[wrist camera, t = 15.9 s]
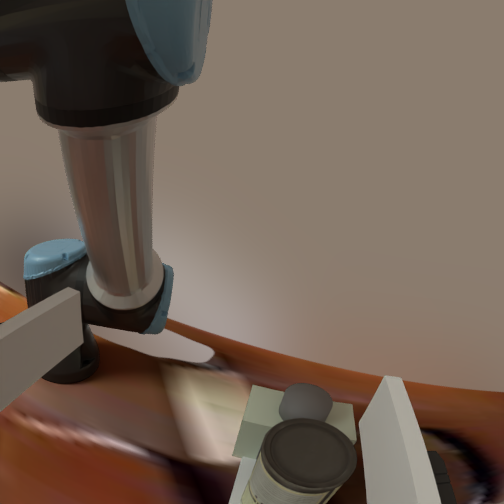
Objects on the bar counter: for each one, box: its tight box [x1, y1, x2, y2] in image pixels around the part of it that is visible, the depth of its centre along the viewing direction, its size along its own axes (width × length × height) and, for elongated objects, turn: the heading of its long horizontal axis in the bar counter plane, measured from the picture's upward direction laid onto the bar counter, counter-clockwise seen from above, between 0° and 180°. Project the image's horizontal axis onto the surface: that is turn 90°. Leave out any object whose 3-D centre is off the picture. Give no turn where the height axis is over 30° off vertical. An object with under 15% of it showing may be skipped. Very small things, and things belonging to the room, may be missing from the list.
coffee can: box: [240, 418, 357, 504], centre depth 27 cm, size 10×10×14 cm
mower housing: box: [229, 383, 357, 504], centre depth 33 cm, size 21×16×12 cm
